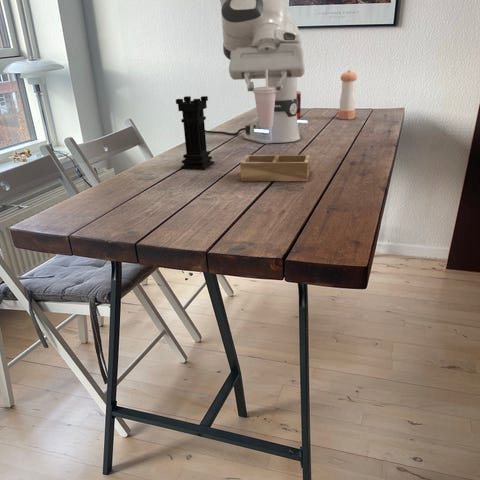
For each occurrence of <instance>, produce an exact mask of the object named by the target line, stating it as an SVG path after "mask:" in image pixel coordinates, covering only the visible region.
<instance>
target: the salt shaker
mask: <svg viewBox="0 0 480 480" xmlns="http://www.w3.org/2000/svg"><path fill="white" fill-rule="evenodd" d="M357 80H358V75H357V73H355V72H352V70H350V69H349V70H347V72H344V73H342V74H341V75H340V81H341V93H340V97H339V109H338V115H337V118H338V120H353V119H355V118H356V117H355V116H356V109H355V107H356V106H355V105H356V95H355V89H356V88H355V86H356V81H357Z"/></svg>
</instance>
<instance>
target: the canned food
mask: <svg viewBox="0 0 480 480" xmlns="http://www.w3.org/2000/svg"><path fill="white" fill-rule="evenodd" d="M301 97H302V93H301V91H300V90H297V99H298V109H297V119H300V118H301V101H302V100H301V99H302V98H301Z"/></svg>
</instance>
